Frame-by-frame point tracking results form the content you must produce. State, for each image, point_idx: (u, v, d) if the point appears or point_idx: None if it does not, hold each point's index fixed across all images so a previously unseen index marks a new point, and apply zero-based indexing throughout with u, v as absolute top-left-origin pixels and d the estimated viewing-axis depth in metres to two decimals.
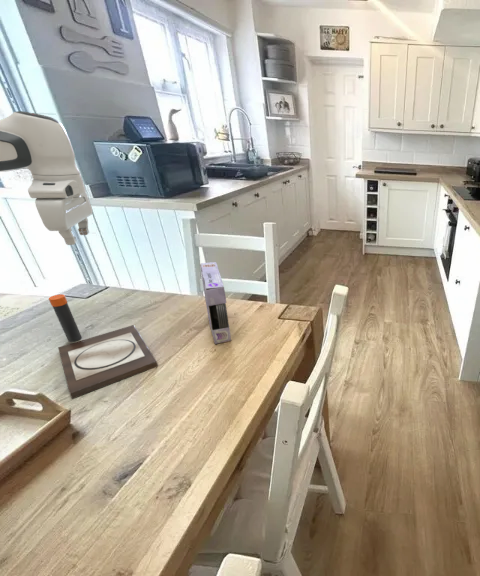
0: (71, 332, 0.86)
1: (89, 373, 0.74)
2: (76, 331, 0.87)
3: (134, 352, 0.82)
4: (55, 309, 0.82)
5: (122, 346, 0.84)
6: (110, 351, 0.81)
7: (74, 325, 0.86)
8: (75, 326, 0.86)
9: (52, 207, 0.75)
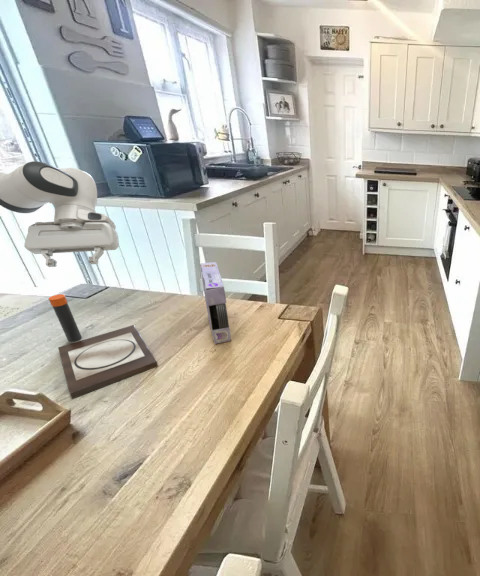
0: (71, 332, 0.86)
1: (89, 373, 0.74)
2: (76, 331, 0.87)
3: (134, 352, 0.82)
4: (55, 309, 0.82)
5: (122, 346, 0.84)
6: (110, 351, 0.81)
7: (74, 325, 0.86)
8: (75, 326, 0.86)
9: (115, 232, 0.97)
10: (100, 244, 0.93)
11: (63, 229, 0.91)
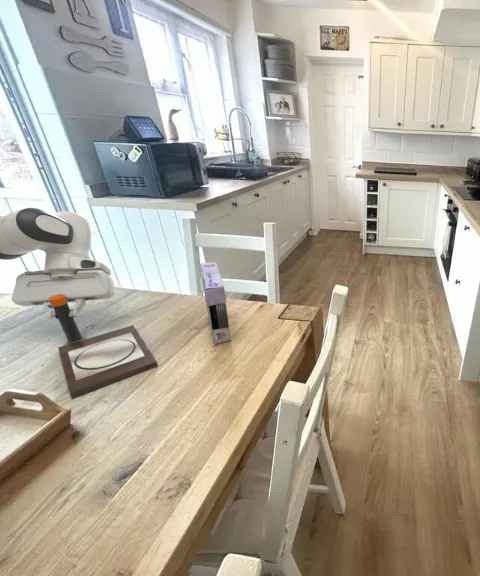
0: (71, 332, 0.86)
1: (89, 373, 0.74)
2: (76, 331, 0.87)
3: (134, 352, 0.82)
4: (55, 309, 0.82)
5: (122, 346, 0.84)
6: (110, 351, 0.81)
7: (74, 325, 0.86)
8: (75, 326, 0.86)
9: (111, 278, 0.91)
10: (94, 294, 0.86)
11: (54, 279, 0.85)
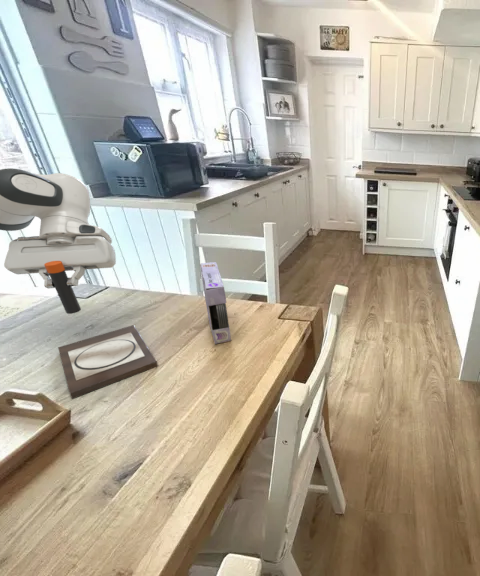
0: (69, 303, 0.79)
1: (89, 373, 0.74)
2: (75, 302, 0.80)
3: (134, 352, 0.82)
4: (51, 276, 0.75)
5: (122, 346, 0.84)
6: (110, 351, 0.81)
7: (72, 295, 0.79)
8: (74, 296, 0.80)
9: (112, 246, 0.84)
10: (94, 262, 0.80)
11: (50, 244, 0.78)
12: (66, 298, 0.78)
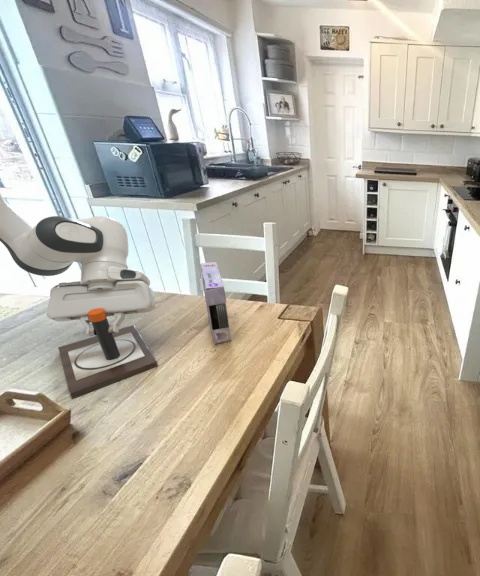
0: (109, 350, 0.78)
1: (89, 373, 0.74)
2: (115, 348, 0.79)
3: (134, 352, 0.82)
4: (94, 325, 0.74)
5: (122, 346, 0.84)
6: None
7: (113, 342, 0.78)
8: (114, 343, 0.78)
9: (151, 290, 0.83)
10: (135, 308, 0.78)
11: (92, 291, 0.77)
12: (107, 345, 0.77)
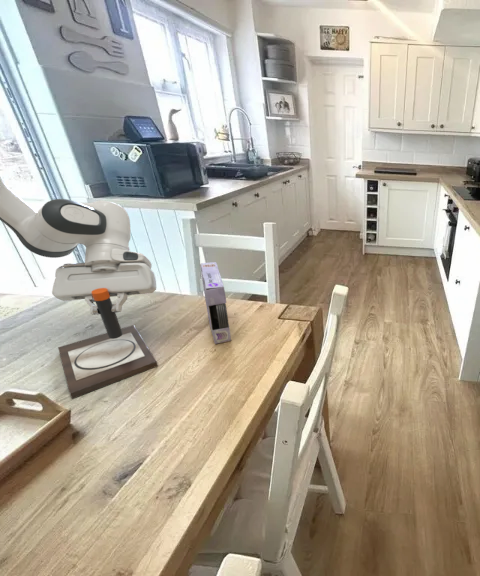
0: (112, 328, 0.81)
1: (89, 373, 0.74)
2: (118, 327, 0.82)
3: (134, 352, 0.82)
4: (98, 304, 0.77)
5: (122, 346, 0.84)
6: (110, 351, 0.81)
7: (116, 321, 0.81)
8: (117, 322, 0.81)
9: (152, 272, 0.86)
10: (137, 288, 0.81)
11: (95, 271, 0.80)
12: (110, 324, 0.80)
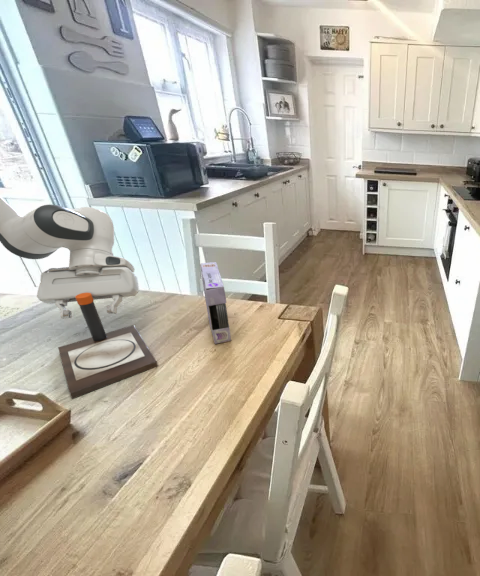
0: (96, 331, 0.84)
1: (89, 373, 0.74)
2: (101, 330, 0.85)
3: (134, 352, 0.82)
4: (81, 308, 0.81)
5: (122, 346, 0.84)
6: (110, 351, 0.81)
7: (100, 324, 0.85)
8: (101, 325, 0.85)
9: (135, 276, 0.89)
10: (119, 291, 0.85)
11: (79, 276, 0.83)
12: (94, 327, 0.84)
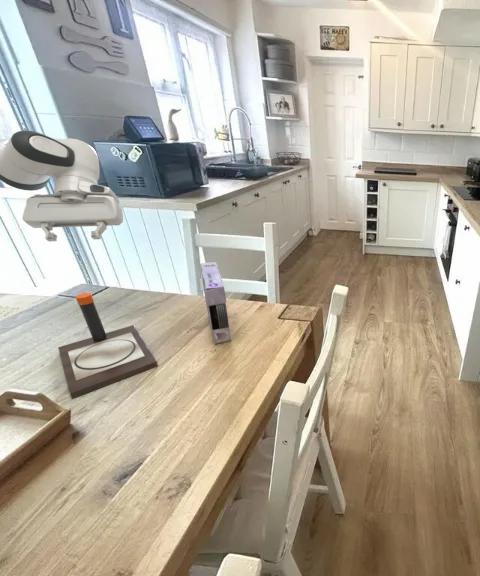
0: (96, 331, 0.84)
1: (89, 373, 0.74)
2: (101, 330, 0.85)
3: (134, 352, 0.82)
4: (81, 308, 0.81)
5: (122, 346, 0.84)
6: (110, 351, 0.81)
7: (100, 324, 0.85)
8: (101, 325, 0.85)
9: (119, 206, 0.92)
10: (103, 218, 0.87)
11: (64, 201, 0.86)
12: (94, 327, 0.84)
